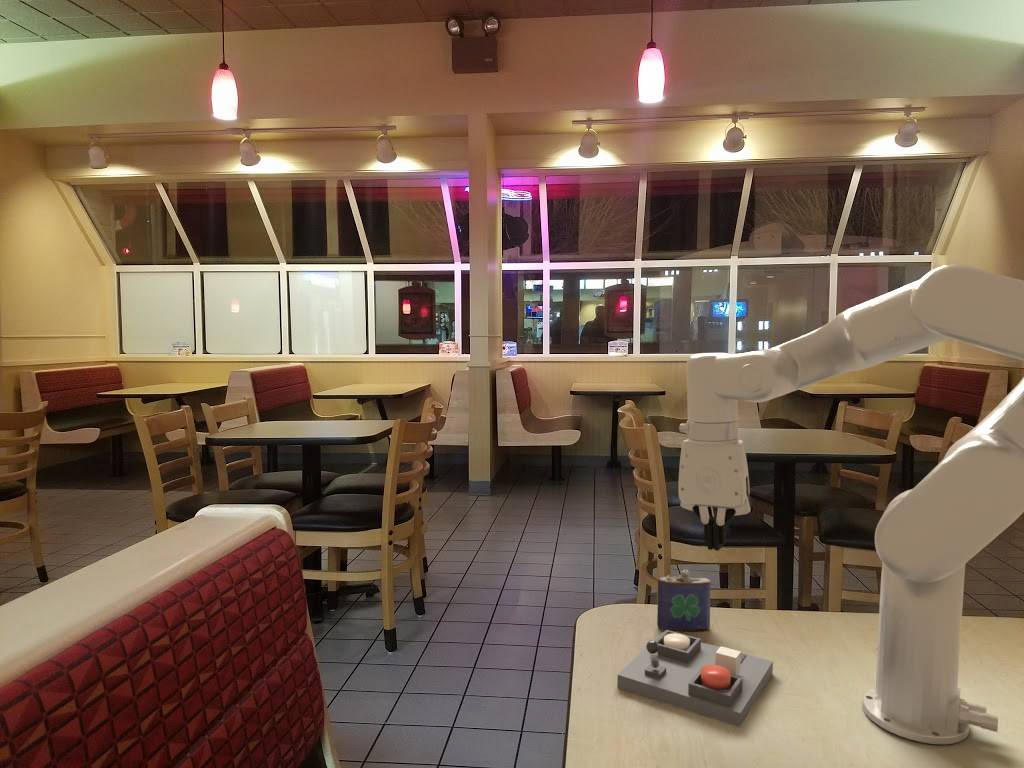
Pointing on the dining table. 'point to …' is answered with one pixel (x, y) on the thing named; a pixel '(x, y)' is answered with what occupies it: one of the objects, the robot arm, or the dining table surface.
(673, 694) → the panel
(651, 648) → the toggle lever
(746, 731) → the dining table surface
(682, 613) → the flask
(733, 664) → the beige cube
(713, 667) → the red button
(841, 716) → the dining table surface
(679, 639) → the ivory button
